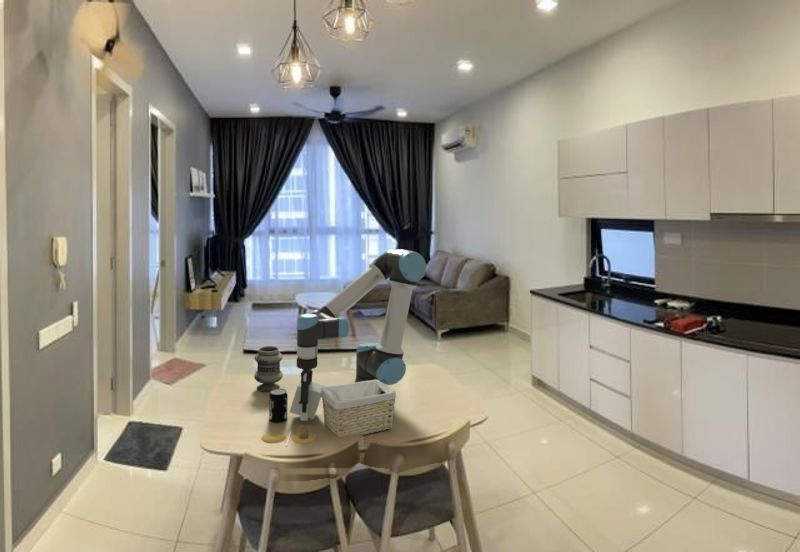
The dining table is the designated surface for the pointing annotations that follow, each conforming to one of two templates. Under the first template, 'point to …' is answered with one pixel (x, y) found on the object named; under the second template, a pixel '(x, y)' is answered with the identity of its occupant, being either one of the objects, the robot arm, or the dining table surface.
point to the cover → (312, 399)
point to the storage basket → (358, 407)
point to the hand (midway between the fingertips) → (306, 413)
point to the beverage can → (278, 405)
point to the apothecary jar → (268, 368)
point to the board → (298, 437)
